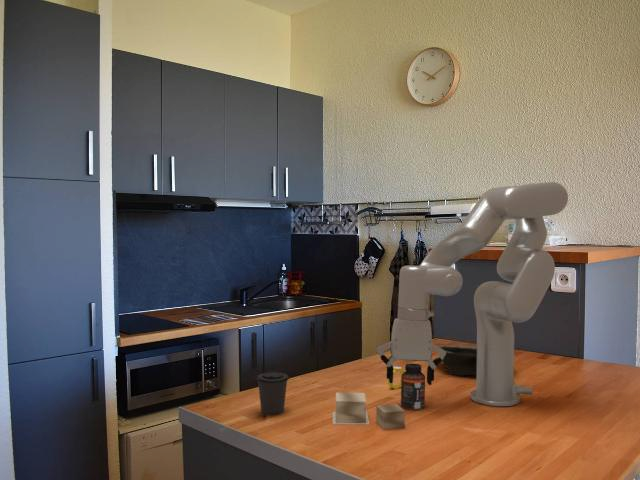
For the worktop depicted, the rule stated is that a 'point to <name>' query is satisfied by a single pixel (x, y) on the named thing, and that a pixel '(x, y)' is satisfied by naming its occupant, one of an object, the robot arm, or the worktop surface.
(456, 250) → the robot arm
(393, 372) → the watch
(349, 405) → the maple block
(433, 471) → the worktop surface
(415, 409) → the supplement bottle
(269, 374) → the coffee cup
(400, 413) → the oak block
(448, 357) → the black cooking pot
